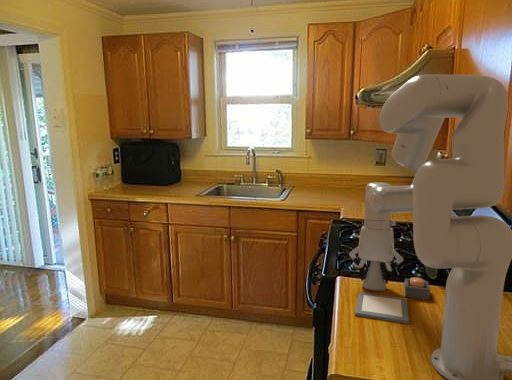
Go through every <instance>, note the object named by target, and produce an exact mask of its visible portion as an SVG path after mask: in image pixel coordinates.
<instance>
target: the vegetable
mask: <svg viewBox="0 0 512 380" xmlns="http://www.w3.org/2000/svg"><path fill="white" fill-rule="evenodd" d="M424 267H425V268H424V269H425V272H426V274H427V276H428V277H429V278H430V279H432V280H436V279H437V274H438V269H437V268H430V267H427V266H425V265H424Z"/></svg>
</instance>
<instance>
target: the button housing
mask: <svg viewBox="0 0 512 380" xmlns="http://www.w3.org/2000/svg"><path fill="white" fill-rule="evenodd" d="M403 286H404V288H405V289H404V297H405V296H407V298H412V297H413V299H420V298H421V299H422V300H430V299H431V298H430V295H431V288H430V287H431V286H430V283H429V281H427V280H425V286H424V288H420V287H412V286H410V278H404V285H403Z"/></svg>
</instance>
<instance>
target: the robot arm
mask: <svg viewBox="0 0 512 380" xmlns="http://www.w3.org/2000/svg"><path fill="white" fill-rule="evenodd" d="M508 96H509V95H508V91H507V90H506V87H505V86H504V84H503V83H502V82H500V80H498V79H496V78H495V77H491V76H487V75H479V74H478V75H477V74H436V73H435V74H429V73H426V74H425V73H424V74H419V75H416V76H414V77H412V78H410V79H408V80H407V81H406V82H405V83H404V84H402V85H401V86H400V87H399V88H398V89H396V91H394V92H393V93H392V94H391V95H389V97H388V98H387V99H386V100H385V101H384V104H383V105H382V108H381V110H380V112H379V113H380V114H379V118H378V119H379V125H380V127H381V130H382V131H383V132H385V133H387V134H396V135H397V136H396V139H395V141H394V144H393V146H392V149H391V157H392V159H393V160H394V161H395V162H396V163H397V164H399V165H400V166H402V167H404V168H406V169H408V170H410V171H413V172H414V173H415V176H414V178H413V179H412V180H413V181H412V182H411V184H410V185H391V184H390V183H387V182H377V181H376V182H375V181H374V182H370V183H367V184H366V186H365V198H364V201H365V202H364V217H363V218H364V222H363V225H362V226H361V228H360V232H359V237H358V238H359V239H358V240H359V241H358V245H357V246H356V247H355V248H354V249H352V250H351V251H350V252H349V254H348V255H349V258H351V259H352V260H353V262H354V263H355V264H356V265H357V266H358V268H359V271H358V272H359V273H358V277H360V281H362V282H363V281H364V279H365V267H366V266H365V263H366V261H370V262H371V261H377V262H380V263H384V265H385V267H386V268H385V275H384V277H385V278H384V281H385V284H386V285H388V281H391V273H392V271H393V270H394V269H395V268H397V267H398V266H399V265H400V264H401V263H403V262H404V258H403V257H402V256H401V254H399V252H397V250H396V249H395V241H394V240H395V239H394V237H395V236H394V235H395V234H394V228H392V227H393V226H396V225H397V221H395V220H392V214H401V213H403V214H404V213H405V214H407V213H412V228H413V229H412V232H413V233H412V235H413V236H412V237H413V239H412V240H413V246H414V247H413V248H414V251H415V254H416V257H417V258H418V260H419V261H420V262H421V263H422V264H423V265H424V267H425V266H427V267H430V268H437V270H438V269H440V270H442V269H451V270H450V272H449V274H448V276H447V279H446V284H445V292H444V294H445V295H444V303H443V304H444V306H443V316H442V329H441V341H440V347H438V348H436V349H435V350H434V351H432V354H431V364H432V366H433V368H434V369H435V371H437V372H438V373H439V374H440V376H442V377H443V378H445V379H447V380H504V374H505V373H506V372H508V373H512V356H509V355H508V356H507V355H500V354H499V353H498V352H497V347H498V338H499V328H500V319H501V311H502V303H503V293H504V287H505V281H506V276H507V273H508V269H509V266H510V264H511V261H512V228H511V227H510V226H509V224H508V223H506V222H505V221H503V220H502V219H500V218H497V217H494V216H491V215H459V216H457V215H456V216H452V212H453V211H454V210H473V209H474V210H475V209H486V208H491V207H493V206H496V205H497V204H499V203H500V201H501V200H502V198H503V196H504V191H505V190H504V189H505V139H504V136H505V135H504V134H505V127H506V120H507V115H508V109H509V97H508ZM448 118H449V119H450V118H454V119H457V118H458V119H461V120H460V121H459V122H458V124H457V126H456V127H455V129H454V132H453V133H452V137H451V158H437V159H431V160H428V161H427V159H428V158H429V156H430V152H431V151H432V150H433V149H432V148H433V146H434V144H435V141H436V139H437V137H438V135H439V132H440V131H441V128H442V125H443V123H444V122H445V119H448ZM357 254H358V257H357ZM394 257H395V260H394Z"/></svg>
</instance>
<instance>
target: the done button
mask: <svg viewBox="0 0 512 380" xmlns="http://www.w3.org/2000/svg"><path fill="white" fill-rule="evenodd" d="M409 279H410V286H412V287H420V288H424V286H425V281H426V280H425V279H423V278H421V277H410V278H409Z"/></svg>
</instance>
